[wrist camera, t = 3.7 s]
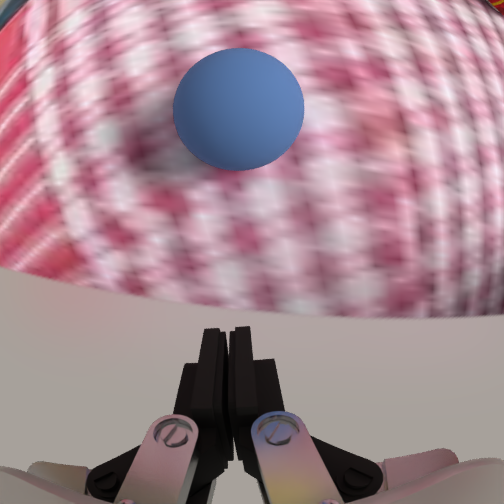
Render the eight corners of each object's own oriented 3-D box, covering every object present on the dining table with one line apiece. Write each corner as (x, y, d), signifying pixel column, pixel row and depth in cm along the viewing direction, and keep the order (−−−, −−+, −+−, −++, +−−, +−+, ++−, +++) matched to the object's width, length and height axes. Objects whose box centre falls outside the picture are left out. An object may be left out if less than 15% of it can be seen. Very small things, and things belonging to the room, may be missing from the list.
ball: (303, 159, 14) (335, 151, 8) (200, 183, 14) (174, 187, 9) (278, 66, 12) (294, 16, 7) (179, 89, 12) (145, 49, 7)
